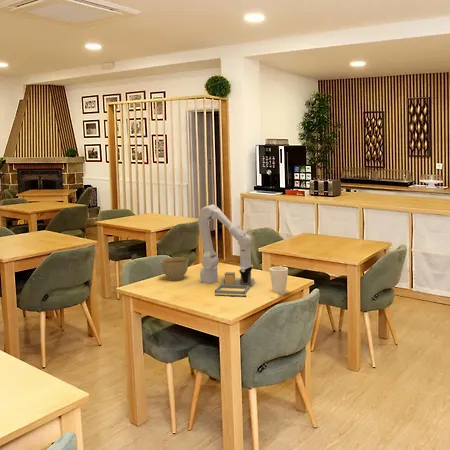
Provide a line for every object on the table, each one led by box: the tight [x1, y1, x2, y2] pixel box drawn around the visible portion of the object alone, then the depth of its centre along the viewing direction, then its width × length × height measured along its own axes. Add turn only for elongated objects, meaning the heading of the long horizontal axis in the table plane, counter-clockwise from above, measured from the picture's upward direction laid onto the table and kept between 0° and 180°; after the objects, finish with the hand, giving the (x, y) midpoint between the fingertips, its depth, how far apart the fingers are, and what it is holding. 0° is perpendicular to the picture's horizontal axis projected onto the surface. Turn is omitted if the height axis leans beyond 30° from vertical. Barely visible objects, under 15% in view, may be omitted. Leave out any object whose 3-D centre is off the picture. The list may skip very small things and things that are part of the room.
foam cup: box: [269, 266, 289, 296], centre depth 288 cm, size 10×9×13 cm
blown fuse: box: [240, 272, 252, 285], centre depth 302 cm, size 5×3×6 cm, turn 75°
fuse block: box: [221, 276, 256, 288], centre depth 303 cm, size 10×17×4 cm, turn 75°
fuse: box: [224, 271, 236, 285], centre depth 304 cm, size 5×3×6 cm, turn 75°
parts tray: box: [214, 284, 251, 298], centre depth 291 cm, size 16×11×3 cm
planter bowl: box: [160, 256, 190, 281], centre depth 325 cm, size 16×16×11 cm
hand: (246, 281), depth 302 cm, fingers closed on blown fuse, 3 cm apart
